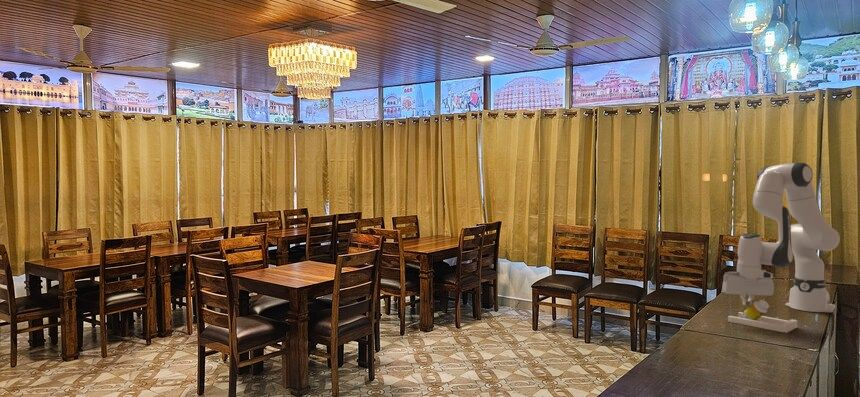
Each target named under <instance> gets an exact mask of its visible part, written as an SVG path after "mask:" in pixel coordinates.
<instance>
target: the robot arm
mask: <svg viewBox="0 0 860 397" xmlns="http://www.w3.org/2000/svg"><path fill="white" fill-rule="evenodd" d="M813 176H814V174H813V170H812V168H811V166H810V165H809V164H807V163H806V162H795V163H794V162H789V163H787V162H786V163H781V164H776V165H767V166H764V167H762V168H760V169H759V171H758V172H757V174H756V180H757V181H756V184H755V188H754V192H753V194H752V207H753V208H754V209H755V211H756V212H758V214H760V215H762V216H765V217H766V218H768V219H771V220H774V221H776V223H777V226H778V227H777V232H778V233H777V234H778V236H777V237H778V240H777V241H776V242H770V241H762V236H761V235H760V234H757V233H751V232H749V233H743V234H741V235H740V237H739V240H738V244H737V245H738V246H737V257H738V259H737V263H736V271H727V272H725V273H724V274H723V281H722V286H721V287H722V288H721V291H722V292H723V293H724V294H726V295H727V294H728V295H729V294H730V295H739V297H740V299H741V300H742V305H743V306H751V305H752V302H753V300H755V297H756V296H773V295H774V291H775V284H774V280H773V277H774V273H773V272H772V273H771V272H770V271H766V270H764V269H762V265H765V266H773V267H777V268H785V267H786V266H788V265H790V264H792V262H793V258H794V269H795V271H794V273H795V274H794V277H793V287H792V286H791V288H790V289H789V297H788V298H789V299H788V302H786V303H785V306H787V307H789V308H792V309H794V310H799V311H804V312H811V313H833V312H834V310H835V309H836V304H832V303H831V301H830V294H829V292H828V290H827V289H826V284H827V283H826V282H827V280H826V278H825V263H824V261H823V259H821V258H820V256H819V255H818V253H817V251H832V250H835V249H836V248H837V247H838V246H839V244H840V240H841V237H840V234H839V232H838V231H837V230H836V229H834V228H833V227H832V226H831V225H830V224H829V223H828V222H827V221H826V219H825V217H824V216H823V214H822V213H821V210H820V209H819V204H818V201H817V197H816V192H815V189H814V187H813V183H812V180H813ZM784 191H785V197H786V198H785V199H786V201H787V205H788V208H787V207H786V206H784V203H783V197H784ZM791 217H792V218H793V219H794V220H795V221H797V223H795V224H791ZM747 295H748V299H746V297H747Z"/></svg>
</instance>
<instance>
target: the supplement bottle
mask: <svg viewBox="0 0 860 397" xmlns="http://www.w3.org/2000/svg"><path fill="white" fill-rule="evenodd" d="M769 307H770V305H769V303H768V302H767V301H765V300H764V299H760V300H756V301H754V302H752V303H751V305H749V307H747V308H746V309H745V310H744V311H743V317H744V318H745V319H751V320H757V319H759V318H760V317H761V316H764V314H766V313H767V311H768V308H769Z"/></svg>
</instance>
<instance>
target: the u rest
mask: <svg viewBox="0 0 860 397" xmlns="http://www.w3.org/2000/svg"><path fill="white" fill-rule="evenodd" d="M743 312H744V311H743ZM743 312H741V311H739V312H737V316H733V315H728V316H727V322H729V323H733V324H734V323H735V324H739V325H744V326H749V327H754V328H759V329H765V330H770V331H774V332H775V331H776V332H781V333H784V332H785V334H787V333H790V332H791V331H793V330H795V329H796V328H798V320H797V319H792V318H791V319H789V320H787V319H781V318H776V317H772V316H771V317H769V316H765V315H762V316H761V317H760V318H759V319H757V320H751V319H745V318H744V317H743Z"/></svg>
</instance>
